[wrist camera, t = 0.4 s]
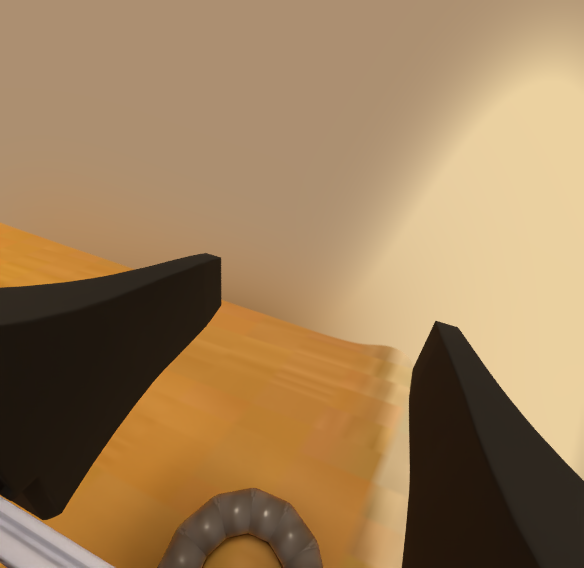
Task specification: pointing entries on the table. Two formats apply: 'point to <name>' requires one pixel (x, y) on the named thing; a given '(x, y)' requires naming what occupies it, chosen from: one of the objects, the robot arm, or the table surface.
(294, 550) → the grey segmented ring
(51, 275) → the table surface
